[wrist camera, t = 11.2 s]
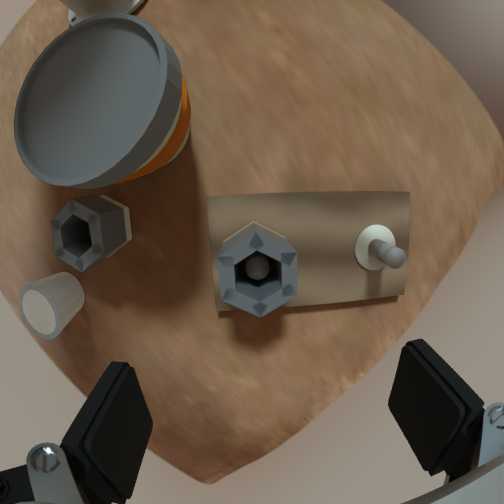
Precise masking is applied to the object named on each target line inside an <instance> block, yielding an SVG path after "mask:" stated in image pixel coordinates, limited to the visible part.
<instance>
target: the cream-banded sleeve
mask: <svg viewBox="0 0 504 504" xmlns="http://www.w3.org/2000/svg"><path fill="white" fill-rule="evenodd" d="M51 229H52V236H53V243H54V249H55V255H56V257H58V258H59V259H61V260H62V261H64V262H65V263H67V264H69V265H70V266H72V267H73V268H75V269H77V270H78V271H80V272H81V273H82V272H83V271H85V270H87V269H89V268H90V267H92V266H94V265H95V264H97V263H99V262H101V261H102V260H104V259H106V258H108V257H109V256H111V255H112V254H113V253H115V252H116V251H117V250H118V249H120V248H121V247H122V246H123V245H125V244H126V243H127V242H128V241H130V240H131V239H132V233H131V224H130V214H129V207H127V206H125V205H123V204H121V203H119V202H117V201H115V200H113V199H111V198H109V197H107V196H105V195H100V196H91V197H82V198H74V199H71V200H70V201H69V202H68V203H67V204H66V205H65V206H64V207H63V208H62V209H61V210H60V211H59V212H58V214H57V215H56V216H55V217H54V218H53V219H52V220H51Z"/></svg>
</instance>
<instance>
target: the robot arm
mask: <svg viewBox="0 0 504 504" xmlns="http://www.w3.org/2000/svg"><path fill="white" fill-rule="evenodd" d="M60 1H61V2H62V3H63V4H64V5H66V6H67V7H68V8H69V11H68V21H69V24H70V25H71V26H74V25H76V24H77V23H79V22H81V21H83V20H86V19H88V18H91V17H94V16H97V15H102V14H107V13H126V14H132V13H133V12H134V11H135V10H136V9H137V8H138V7H139V6H140V5H141V4H142V3H143V2H144V1H145V0H60ZM483 405H484V402H483V401H482V399H481V398H480V397H479V396H478V395H477V394H476V393H475V392H474V391H473V390H472V389H471V388H470V386H469V385H468V384H467V383H466V382H465V381H464V380H463V379H462V378H461V377H460V376H459V375H458V374H457V373H456V372H455V371H454V370H453V369H452V368H451V367H450V366H449V365H448V364H447V363H446V362H445V361H444V360H443V359H442V358H441V357H440V356H439V355H438V354H437V353H436V352H435V351H434V350H433V349H432V348H431V347H430V346H429V345H428V344H427V343H426V342H425V341H424V340H423V339H417V340H413V341H409V342H407V343H406V345H405V346H404V347H403V348H402V350H401V355H400V359H399V363H398V368H397V371H396V375H395V379H394V383H393V386H392V390H391V394H390V397H389V401H388V406H389V409H390V411H391V413H392V415H393V416H394V418H395V420H396V421H397V423H398V425H399V427H400V429H401V430H402V432H403V434H404V436H405V437H406V439H407V440H408V443H409V444H410V446H411V448H412V450H413V452H414V453H415V455H416V457H417V459H418V461H419V463H420V464H421V466H422V468H423V469H424V470H425V471H428V472H429V474H430V476H433V475H435V474H437V473H440V472H441V471H443V470H444V471H445V472H446V477H445V481H444V484H443V486H442V487H439V488H437V489H435V490H433V491H431V492H429V493H427V494H424V495H422V496H420V497H417V498H415V499H412V500H410V501H407V502H404V503H402V504H504V403H494V404H491V405H489V406H488V407H487V408H486V410H484V408H483ZM152 428H153V421H152V418H151V415H150V413H149V410H148V407H147V405H146V402H145V399H144V396H143V394H142V391H141V388H140V385H139V382H138V379H137V376H136V373H135V370H134V368H133V367H130V365H129V364H128V363H127V362H114V361H113V362H111V363H110V364H109V366H108V367H107V369H106V370H105V372H104V373H103V375H102V376H101V378H100V379H99V381H98V383H97V384H96V386H95V387H94V389H93V390H92V392H91V393H90V395H89V397H88V398H87V400H86V402H85V403H84V405H83V406H82V408H81V410H80V411H79V413H78V414H77V416H76V418H75V419H74V421H73V423H72V424H71V426H70V428H69V429H68V431H67V433H66V434H65V436H64V438H63V440H62V443H61V445H60V446H58V445H56V444H54V443H48V442H47V443H41V444H38V445H36V446H35V447H33V448H32V449H31V450H30V451H29V453H28V455H27V458H26V459H27V460H26V462H27V464H26V465H22V466H19V467H16V468H12V469H8V470H4V471H1V472H0V504H111V503H112V502H114V503H117V504H125V502H126V499H130V498H131V496H132V493H133V489H134V486H135V483H136V479H137V476H138V473H139V469H140V466H141V463H142V459H143V456H144V453H145V450H146V447H147V444H148V441H149V437H150V434H151V431H152Z"/></svg>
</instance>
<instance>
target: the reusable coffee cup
mask: <svg viewBox="0 0 504 504" xmlns="http://www.w3.org/2000/svg"><path fill="white" fill-rule="evenodd" d="M190 118H191V106H190V102H189V97H188V92H187V88H186V83H185V79H184V76H183V74H182V72H181V68H180V63H179V60H178V58H177V56H176V54H175V52H174V50H173V48H172V47H171V46H170V45H169V44H168V43H167V42H166V40H165V39H164V38H163V37H162V36H161V35H160V34H159V33H158V32H157V31H156V30H155V29H154V28H153V27H152V26H151V24H150V23H148V22H147V21H145V20H143V19H141V18H140V17H138V16H134V15H130V14H126V13H107V14H102V15H97V16H94V17H91V18H88V19H86V20H83V21H81V22H79V23H77V24H76V25H74V26H72V27H70V28H69V29H67V30H66V31H64V32H63V33H62V34H61V35H59V36H58V37H57V38H55V39H54V40H53V41H52V42H51V43H50V44H49V45H48V46H47V47H46V48H45V49H44V51H43V52H42V53H41V54H40V56H39V57H38V58H37V60H36V61H35V62H34V64H33V65H32V67H31V69H30V71H29V72H28V74H27V76H26V78H25V80H24V82H23V85H22V87H21V90H20V92H19V96H18V100H17V104H16V108H15V116H14V135H15V142H16V146H17V150H18V153H19V155H20V157H21V159H22V161H23V163H24V165H25V166H26V167H27V168H28V170H29V171H30V172H31V173H32V174H33V175H34V176H36V177H37V178H39V179H40V180H41V181H44V182H47V183H49V184H52V185H57V186H64V187H71V188H80V189H94V188H100V187H105V186H108V185H110V184H117V183H122V182H126V181H129V180H132V179H135V178H139V177H142V176H145V175H147V174H150V173H152V172H154V171H156V170H157V169H159V168H161V167H162V166H164V165H166V164H168V163H169V162H171V161H172V160H173V159H174V158H176V157H177V155H178V154H179V153H180V152H181V151H182V149H183V147H184V146H185V144H186V142H187V139H188V136H189V131H190Z"/></svg>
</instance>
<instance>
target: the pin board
mask: <svg viewBox="0 0 504 504" xmlns="http://www.w3.org/2000/svg"><path fill="white" fill-rule="evenodd" d="M207 212H208V225H209V237H210V249H211V260H212V271H213V281H214V291H215V301H216V310H217V311H233V310H242V309H240V308H238V307H235V306H233V305H231V304H229V303H227V302H224V301H222V300H221V292H220V282H219V271H218V261H217V256H218V254H219V251H220V249H221V246H222V244H223V241H224V240H225V239H227V238H228V237H230V236H231V235H233V234H234V233H236V232H237V231H239V230H240V229H242V228H243V227H245V226H246V225H248V224H249V223H251V222H252V221H255V222H257V223H259V224H261V225H263V226H265V227H267V228H269V229H271V230H273V231H275V232H277V233H279V234H281V235H283V236H285V237H286V239H287V240H288V241H289V242H290V244H291V245H292V246H293V248H294V249H295V250H296V252H297V287H298V295H297V296H295V297H294V298H292V299H290V300H289V301H287V302H286V303H284V304H282V305H281V306H279V307H278V308H282V307H295V306H307V305H318V304H329V303H338V302H348V301H357V300H366V299H374V298H382V297H389V296H397V295H404V291H405V282H406V273H407V261H408V246H409V223H410V193H409V192H380V191H331V192H290V193H266V194H247V195H231V196H216V197H207ZM273 264H274V258H272V257H270V256H268V255H266V254H263V253H261V252H259V251H255V252H254V253H252V254H250V255H249V256H247V257H246V258H244V259H243V260H241V261H240V262H238V267H240V268H242V269H244V270H246V272H247V274H248V276H249V277H251V278H252V279H255V280H260V279H263V278H264V277H266V276H267V274H268V273H269V267H270V266H272V265H273Z"/></svg>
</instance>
